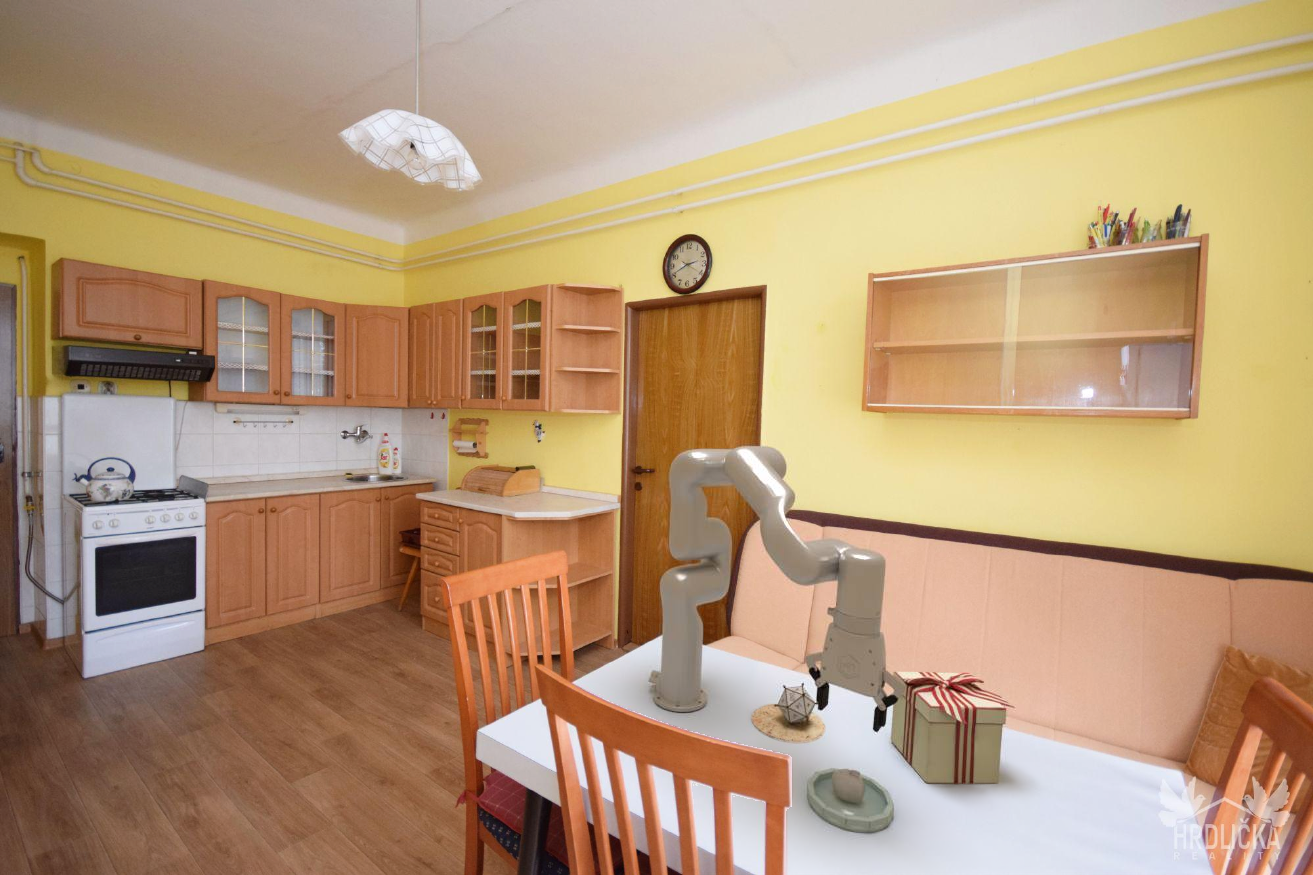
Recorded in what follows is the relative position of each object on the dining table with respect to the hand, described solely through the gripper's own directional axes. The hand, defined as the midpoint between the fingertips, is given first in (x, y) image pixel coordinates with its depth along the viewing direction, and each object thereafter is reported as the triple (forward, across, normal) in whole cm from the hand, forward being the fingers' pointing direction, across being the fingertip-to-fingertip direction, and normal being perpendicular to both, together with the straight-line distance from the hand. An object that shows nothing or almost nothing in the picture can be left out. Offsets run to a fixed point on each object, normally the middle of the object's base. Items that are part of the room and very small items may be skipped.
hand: (849, 717), depth 101 cm
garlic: (+14, +1, 0) cm, 14 cm away
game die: (+16, -18, +20) cm, 31 cm away
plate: (+15, +1, 0) cm, 15 cm away
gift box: (+15, +12, +25) cm, 31 cm away
